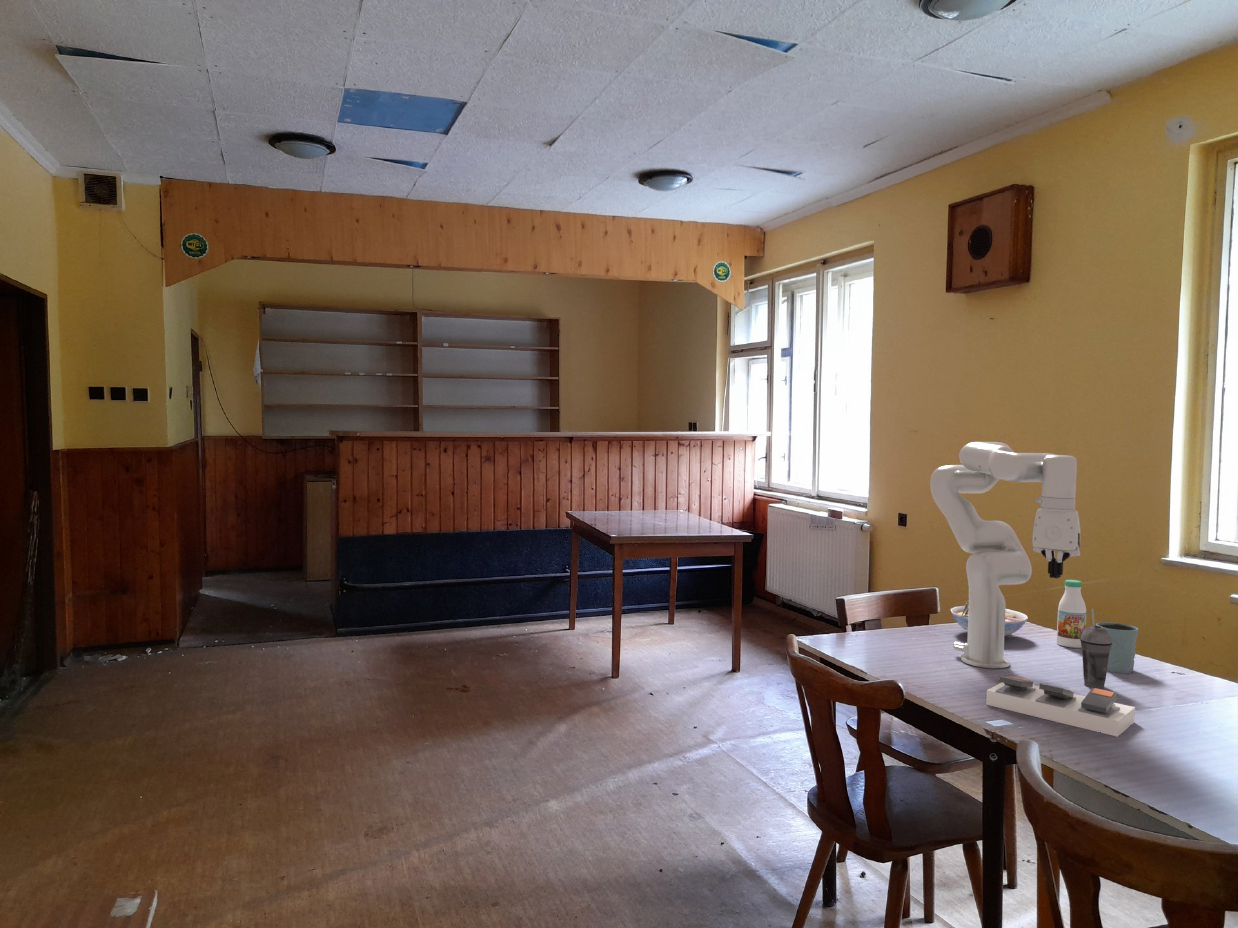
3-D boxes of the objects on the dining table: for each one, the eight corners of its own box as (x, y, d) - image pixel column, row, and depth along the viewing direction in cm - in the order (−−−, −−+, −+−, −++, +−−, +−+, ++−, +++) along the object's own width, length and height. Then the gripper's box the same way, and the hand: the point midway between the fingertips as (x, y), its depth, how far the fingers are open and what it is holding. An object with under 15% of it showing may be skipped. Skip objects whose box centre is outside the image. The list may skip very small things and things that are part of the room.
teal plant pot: (1097, 671, 232) (1098, 627, 231) (1091, 661, 241) (1093, 620, 241) (1139, 675, 228) (1141, 631, 227) (1132, 665, 237) (1134, 623, 237)
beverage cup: (1114, 690, 214) (1118, 613, 213) (1083, 688, 216) (1086, 611, 215) (1104, 682, 221) (1107, 607, 220) (1074, 680, 223) (1077, 605, 222)
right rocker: (1081, 710, 188) (1081, 701, 187) (1092, 695, 193) (1092, 687, 193) (1106, 716, 184) (1106, 707, 184) (1117, 701, 190) (1117, 692, 189)
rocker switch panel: (986, 704, 202) (986, 688, 202) (1007, 692, 211) (1007, 677, 211) (1117, 736, 182) (1118, 718, 182) (1134, 722, 191) (1135, 705, 191)
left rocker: (998, 684, 200) (999, 675, 200) (1010, 685, 206) (1011, 676, 206) (1020, 689, 197) (1021, 680, 197) (1032, 689, 202) (1033, 680, 202)
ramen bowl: (1024, 649, 253) (1025, 622, 252) (943, 639, 264) (944, 613, 264) (1029, 632, 275) (1030, 607, 274) (955, 623, 286) (955, 599, 285)
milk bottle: (1051, 641, 263) (1053, 578, 262) (1074, 641, 263) (1077, 578, 262) (1066, 648, 255) (1069, 583, 254) (1090, 648, 256) (1093, 583, 255)
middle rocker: (1038, 691, 194) (1040, 682, 194) (1049, 695, 199) (1051, 686, 200) (1061, 697, 190) (1063, 687, 191) (1072, 700, 196) (1074, 691, 196)
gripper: (1021, 503, 213) (1018, 574, 214) (1086, 507, 203) (1082, 583, 203) (1032, 501, 218) (1029, 571, 219) (1095, 506, 208) (1092, 579, 209)
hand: (1055, 577), depth 211 cm, fingers closed
